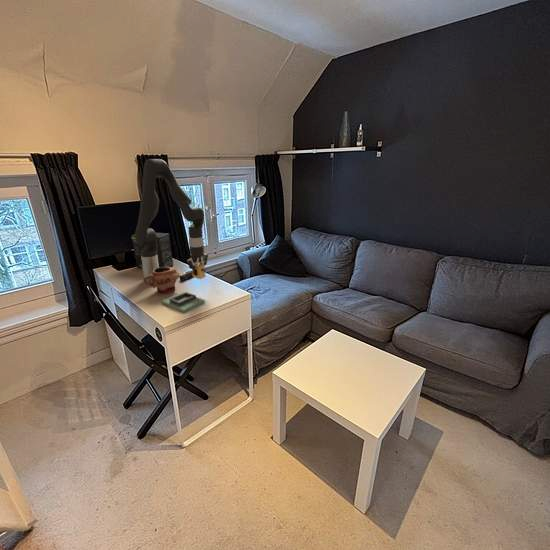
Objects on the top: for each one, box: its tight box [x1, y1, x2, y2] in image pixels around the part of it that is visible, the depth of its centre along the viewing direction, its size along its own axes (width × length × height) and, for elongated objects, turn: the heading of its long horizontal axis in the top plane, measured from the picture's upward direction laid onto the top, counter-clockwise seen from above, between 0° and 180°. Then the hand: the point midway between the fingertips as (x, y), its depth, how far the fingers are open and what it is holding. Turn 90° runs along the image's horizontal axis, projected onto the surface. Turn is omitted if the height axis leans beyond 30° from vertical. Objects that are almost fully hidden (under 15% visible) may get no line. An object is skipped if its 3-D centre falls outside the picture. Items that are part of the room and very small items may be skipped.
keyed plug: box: [191, 263, 206, 280], centre depth 166 cm, size 4×9×7 cm, turn 55°
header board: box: [161, 291, 206, 314], centre depth 159 cm, size 18×14×4 cm
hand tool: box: [179, 270, 193, 282], centre depth 195 cm, size 19×4×5 cm, turn 149°
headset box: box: [130, 232, 174, 270], centre depth 208 cm, size 22×12×26 cm, turn 73°
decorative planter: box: [143, 266, 181, 295], centre depth 171 cm, size 20×12×14 cm, turn 131°
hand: (198, 273), depth 167 cm, fingers closed on keyed plug, 4 cm apart
